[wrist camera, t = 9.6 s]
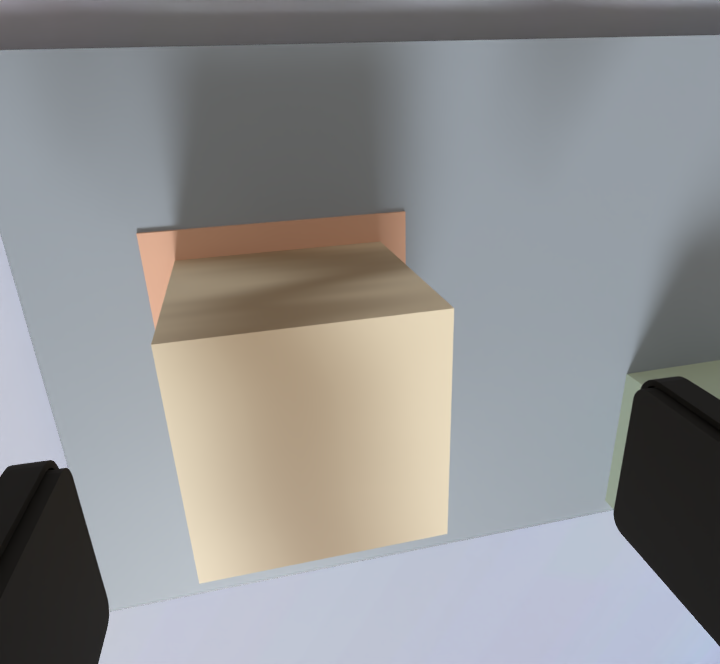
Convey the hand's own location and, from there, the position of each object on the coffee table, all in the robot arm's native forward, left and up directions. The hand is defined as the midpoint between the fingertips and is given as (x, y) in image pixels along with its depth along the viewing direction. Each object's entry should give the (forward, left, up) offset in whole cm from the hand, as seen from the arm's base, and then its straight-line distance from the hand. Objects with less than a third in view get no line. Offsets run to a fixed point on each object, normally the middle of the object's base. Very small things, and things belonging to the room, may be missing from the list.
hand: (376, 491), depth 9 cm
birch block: (+1, 0, -6) cm, 6 cm away
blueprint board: (-5, 0, -7) cm, 9 cm away
